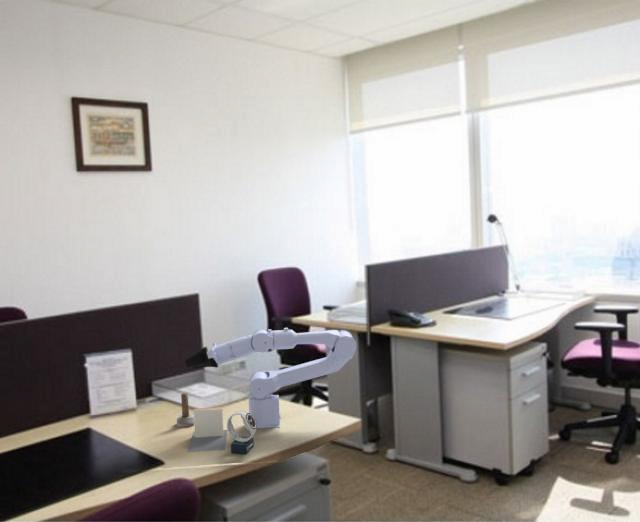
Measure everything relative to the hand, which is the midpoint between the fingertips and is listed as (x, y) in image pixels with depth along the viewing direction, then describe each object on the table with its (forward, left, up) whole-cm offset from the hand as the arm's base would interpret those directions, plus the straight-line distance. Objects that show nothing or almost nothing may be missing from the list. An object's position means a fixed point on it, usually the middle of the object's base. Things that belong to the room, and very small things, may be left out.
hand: (189, 364), depth 184 cm
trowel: (+2, -2, -20) cm, 20 cm away
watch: (-16, +21, -20) cm, 33 cm away
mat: (-6, +12, -20) cm, 24 cm away
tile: (-6, +9, -19) cm, 22 cm away
